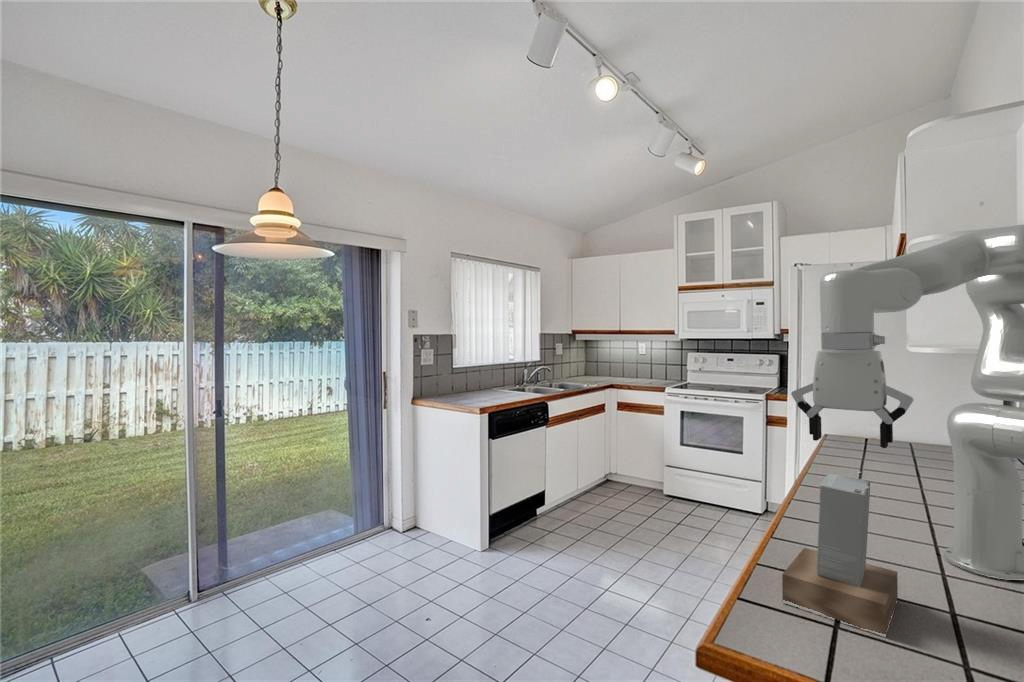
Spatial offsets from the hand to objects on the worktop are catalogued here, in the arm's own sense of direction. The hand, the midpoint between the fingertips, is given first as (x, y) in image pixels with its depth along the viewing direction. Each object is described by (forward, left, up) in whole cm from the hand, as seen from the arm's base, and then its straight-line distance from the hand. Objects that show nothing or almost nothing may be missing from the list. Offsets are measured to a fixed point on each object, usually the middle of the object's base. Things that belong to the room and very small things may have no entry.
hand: (849, 442), depth 84 cm
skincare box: (+1, +3, -22) cm, 22 cm away
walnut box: (+1, +3, -27) cm, 27 cm away
